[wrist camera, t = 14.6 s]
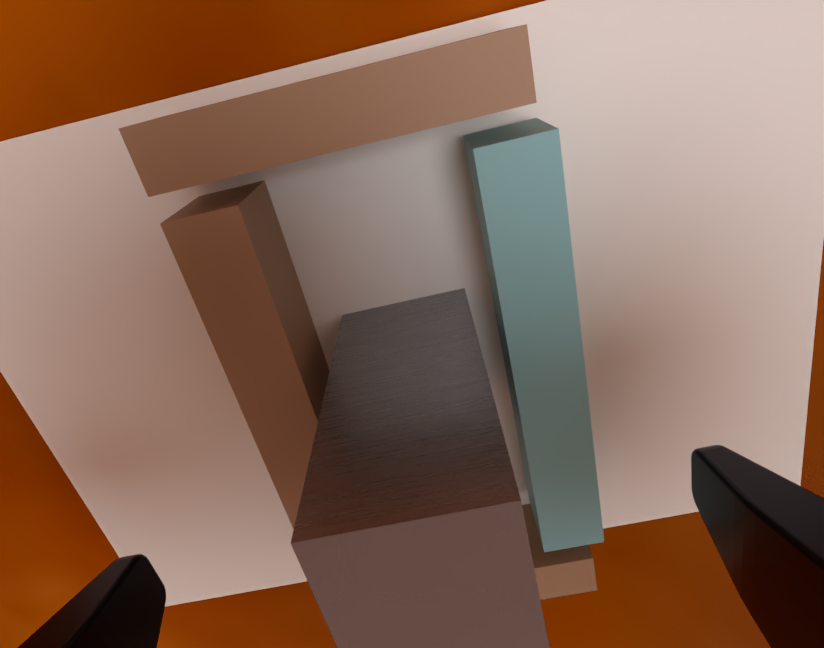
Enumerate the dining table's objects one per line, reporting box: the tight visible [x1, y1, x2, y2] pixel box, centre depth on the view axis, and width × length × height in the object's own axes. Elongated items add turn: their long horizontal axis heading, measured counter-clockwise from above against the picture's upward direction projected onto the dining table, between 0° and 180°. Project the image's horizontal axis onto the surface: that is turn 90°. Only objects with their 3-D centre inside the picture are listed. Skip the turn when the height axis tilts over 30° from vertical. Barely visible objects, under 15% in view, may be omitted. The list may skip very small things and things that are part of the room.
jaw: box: [463, 118, 604, 552], centre depth 13 cm, size 2×10×2 cm, turn 13°
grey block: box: [291, 288, 549, 648], centre depth 11 cm, size 3×3×7 cm
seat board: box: [0, 0, 824, 606], centre depth 14 cm, size 20×14×3 cm
